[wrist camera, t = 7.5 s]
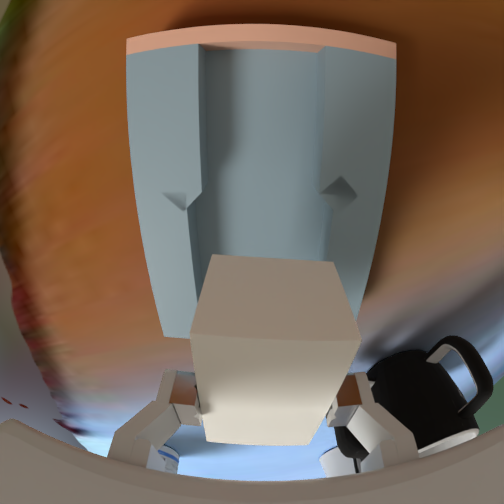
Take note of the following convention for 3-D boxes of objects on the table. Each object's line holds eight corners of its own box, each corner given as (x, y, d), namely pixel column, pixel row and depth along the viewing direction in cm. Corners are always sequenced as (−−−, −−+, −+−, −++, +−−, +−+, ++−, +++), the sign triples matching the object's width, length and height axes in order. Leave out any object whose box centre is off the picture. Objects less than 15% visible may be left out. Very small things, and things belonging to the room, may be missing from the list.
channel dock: (374, 50, 13) (396, 43, 10) (341, 312, 23) (350, 339, 20) (147, 47, 13) (126, 38, 11) (173, 309, 23) (164, 336, 20)
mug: (441, 385, 30) (468, 454, 20) (335, 420, 33) (346, 497, 22) (465, 301, 23) (522, 390, 12) (319, 349, 25) (339, 468, 15)
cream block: (333, 261, 12) (361, 340, 8) (301, 377, 16) (308, 444, 12) (212, 254, 12) (189, 333, 8) (216, 373, 16) (206, 441, 12)
